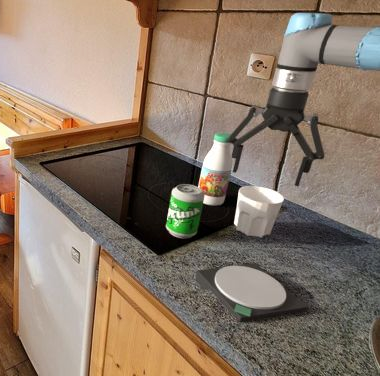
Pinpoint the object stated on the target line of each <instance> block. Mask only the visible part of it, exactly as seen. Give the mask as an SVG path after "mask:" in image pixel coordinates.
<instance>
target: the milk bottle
mask: <svg viewBox="0 0 380 376" xmlns="http://www.w3.org/2000/svg"><path fill="white" fill-rule="evenodd" d="M230 135H231V134H230V133H226V132H217V133H215V134H214V136H213V145H212V147H211V149H210V150H209V151H208V152H207V154H206V156H205V157H204V160H203V162H202V166H201V171H200V175H199V181H198V184H197V185H198V186H197V187H199V188H200V189H201V190H202V192H203V193H204V195H205V197H204V201H203V205H204V204H205V205H208V206H221V205H222V204H224V202H225V199H226V196H227V191H228V186H229V184H230V178H231V173H232V170H233V169H232V168H233V158H232V153H231V145H232V143H229V142H227V139H228V137H229V136H230Z"/></svg>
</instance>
